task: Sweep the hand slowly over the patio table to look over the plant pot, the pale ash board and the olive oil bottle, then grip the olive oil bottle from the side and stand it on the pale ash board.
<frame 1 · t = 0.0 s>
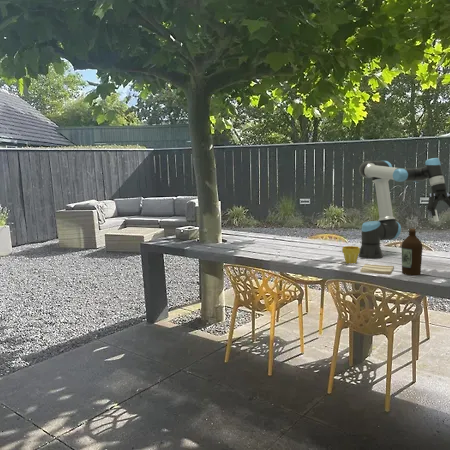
hand: (446, 220, 241), 28 cm above the table, tool tilted 20°, fingers open, 13 cm apart
plant pot: (350, 263, 268), on the table
olive oil: (411, 274, 236), on the table
ash board: (377, 270, 246), on the table
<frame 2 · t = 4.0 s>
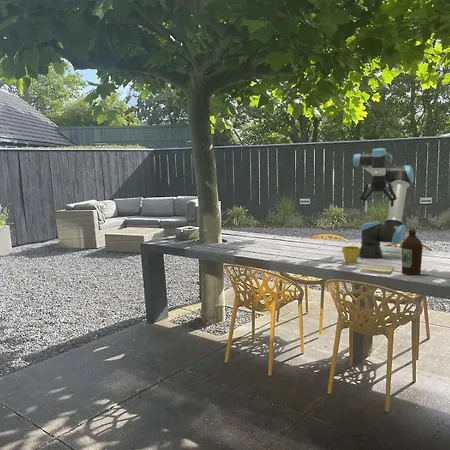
hand: (378, 211, 251), 33 cm above the table, tool pointing down, fingers open, 13 cm apart
nothing on the table moved.
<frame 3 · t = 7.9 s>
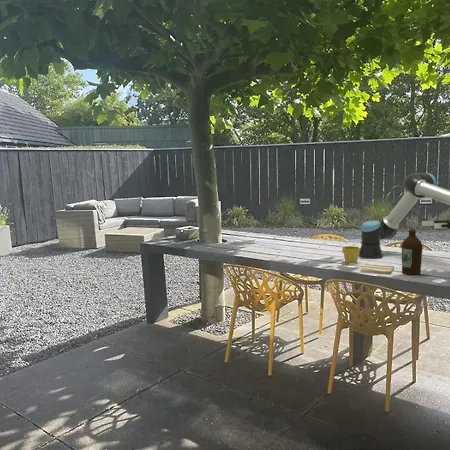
hand: (428, 224, 233), 27 cm above the table, tool horizontal, fingers open, 13 cm apart
nothing on the table moved.
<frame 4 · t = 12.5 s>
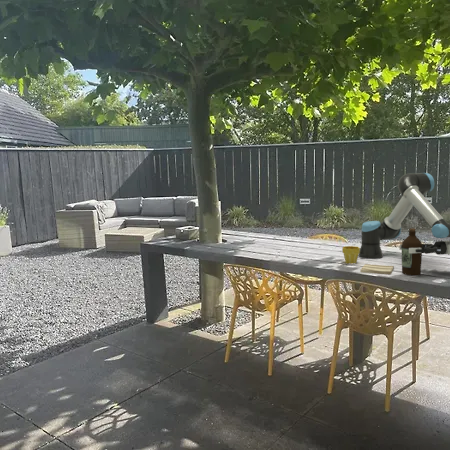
hand: (404, 248, 234), 14 cm above the table, tool horizontal, fingers closed on olive oil, 10 cm apart
olive oil: (411, 274, 236), on the table, touching gripper
everything else where it was.
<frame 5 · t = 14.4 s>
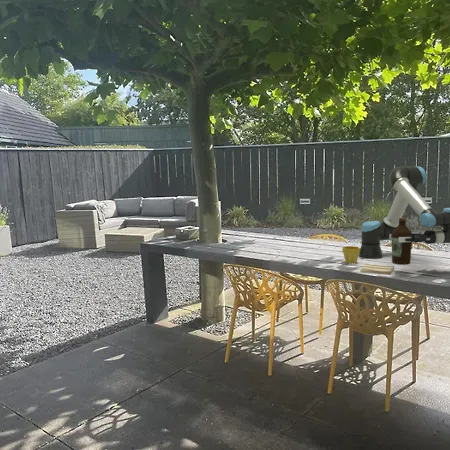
hand: (394, 238, 235), 20 cm above the table, tool horizontal, fingers closed on olive oil, 10 cm apart
olive oil: (400, 263, 237), point 6 cm above the table, touching gripper
everything else where it was.
when the fingers open (17 cm above the table, at t = 16.6 s): olive oil drops 1 cm, resting on ash board.
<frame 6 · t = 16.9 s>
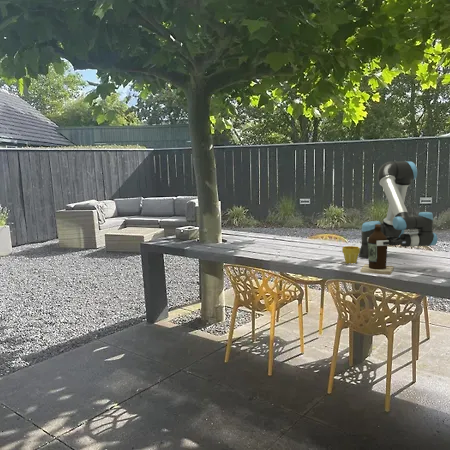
hand: (372, 241, 244), 17 cm above the table, tool horizontal, fingers open, 13 cm apart
olive oil: (377, 268, 246), point 1 cm above the table, touching ash board
everything else where it was.
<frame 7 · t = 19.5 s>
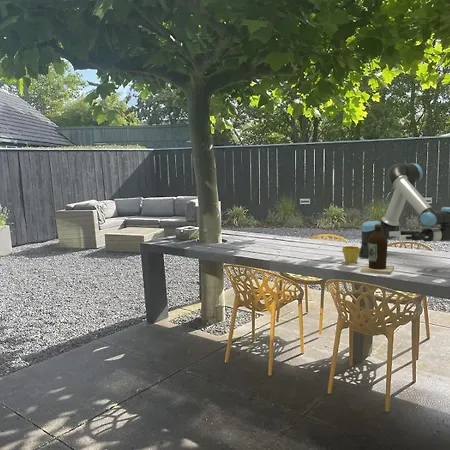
hand: (394, 235, 245), 20 cm above the table, tool horizontal, fingers open, 13 cm apart
nothing on the table moved.
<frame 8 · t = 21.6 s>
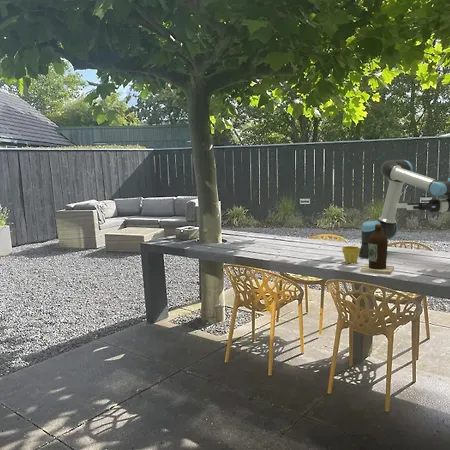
hand: (401, 206, 246), 36 cm above the table, tool horizontal, fingers open, 13 cm apart
nothing on the table moved.
at the end: olive oil inside the target area on the ash board (0.2 cm from its centre), point 1.3 cm above the ash board's base; olive oil tilted 0°; the gripper is holding nothing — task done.
